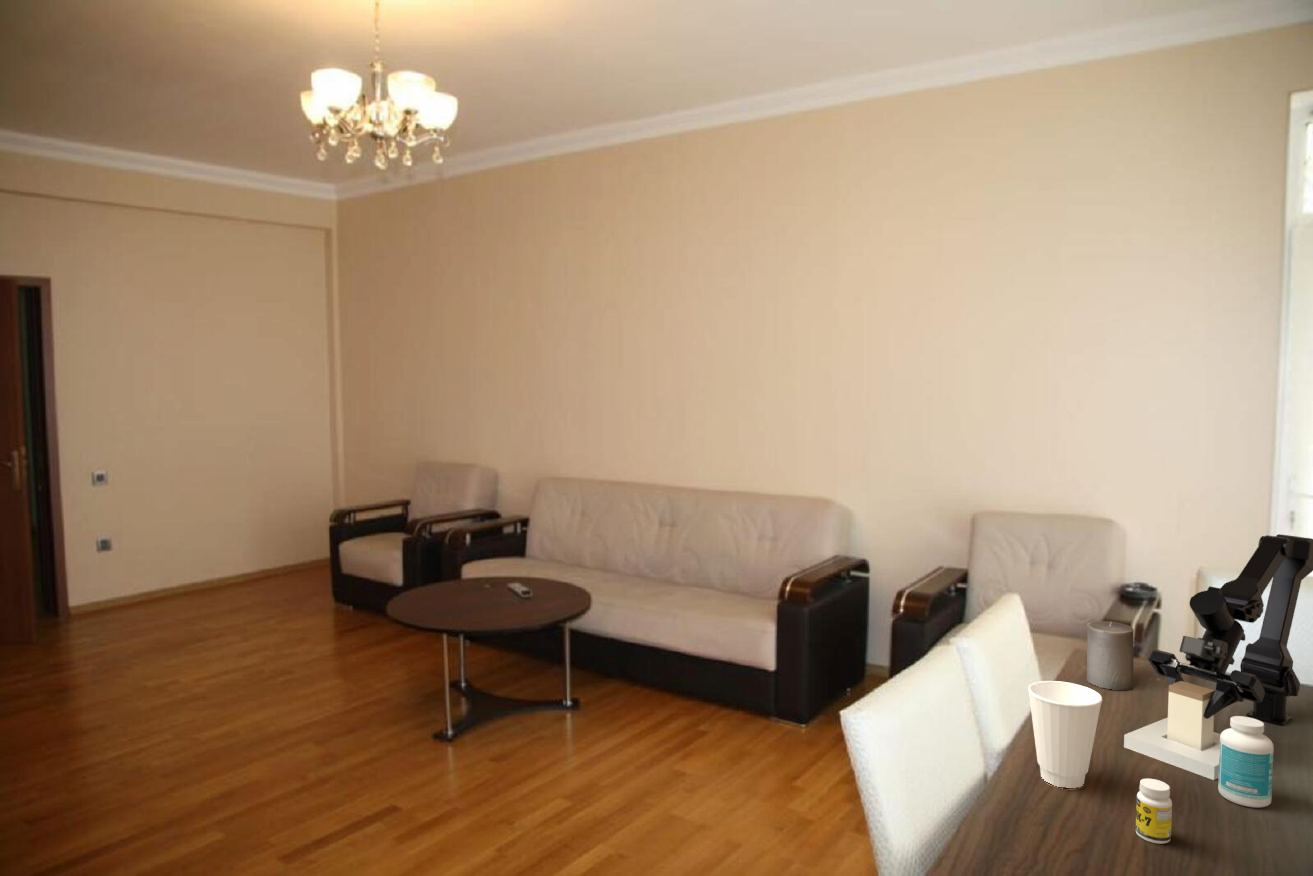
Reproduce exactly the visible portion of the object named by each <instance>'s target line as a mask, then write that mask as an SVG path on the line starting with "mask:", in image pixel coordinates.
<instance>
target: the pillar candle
mask: <svg viewBox="0 0 1313 876" xmlns="http://www.w3.org/2000/svg"><path fill="white" fill-rule="evenodd" d="M1086 626H1087V632H1086V633H1087V636H1086V637H1087V638H1086V639H1087V641H1086V642H1087V643H1086V682H1087V681H1088V682H1089V683H1088V682H1087V683H1088V684H1090V683H1091V684H1090V685H1093V686H1095V685H1096V686H1095V687H1097V686H1098V687H1097V688H1099V687H1104V688H1108V689H1112V690H1111V691H1127V690H1131V689H1133V688H1132V687H1134V684H1133V683H1134V653H1135V652H1134V645H1135V644H1134V641H1135V640H1134V639H1135V637H1134V632H1135V631H1134V630H1135V629H1134V628H1133V627H1132V626H1130V625H1128V624H1125V623H1121V622H1116V621H1109V620H1107V621H1105V620H1097V621H1090V622H1088V623H1086ZM1132 685H1133V686H1132ZM1108 689H1107V690H1108Z"/></svg>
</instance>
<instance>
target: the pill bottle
mask: <svg viewBox="0 0 1313 876" xmlns="http://www.w3.org/2000/svg"><path fill="white" fill-rule="evenodd" d="M1229 722H1230V723H1229V725H1230V727H1229V728H1226V729H1224V730H1223V731H1222V732H1220V734H1221V735H1220V753H1219V778H1218V779H1217V780H1218V781H1217V782H1218V784H1217V785H1218V786H1217V787H1218V788H1217V790H1218V792H1219V794H1220V795H1221V796H1222V797H1223V798H1224V799H1226V800H1227V801H1230V802H1232V803H1234V804H1236V805H1239V806H1245V807H1248V808H1266V807H1268V806H1270V805H1271V803H1272V796H1273V795H1272V794H1273V792H1272V791H1273V773H1274V772H1273V771H1274V770H1273V768H1274V751H1275V749H1274V747H1275V746H1274V743H1273V742H1272V740H1271V739H1270V738H1269V737H1268V736H1266V735H1265V734H1264V732H1265V723H1264V722H1263V721H1262V720H1260V719H1256V718H1253V717H1249V716H1245V715H1244V716H1241V715H1234V716H1231V717H1230V720H1229Z"/></svg>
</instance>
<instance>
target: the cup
mask: <svg viewBox="0 0 1313 876" xmlns="http://www.w3.org/2000/svg"><path fill="white" fill-rule="evenodd" d="M1027 688H1028V689H1027V692H1028V695H1029V703H1030V711H1031V719H1032V720H1031V721H1032V729H1033V735H1034V744H1035V752H1036V753H1035V754H1036V760H1037V761H1036V762H1037V764H1038V766H1039V771H1040V777H1042V778H1041V780H1042V779H1044V781H1046V782H1048V783H1050V784H1052V785H1054V786H1053V787H1055V786H1057V787H1056V788H1058V787H1066V788H1076V787H1081V786H1083V787H1084V785H1085V779H1086V774H1087V773H1088V772H1089V768H1090V762H1091V757H1092V753H1093V747H1094V742H1095V739H1096V733H1097V731H1096V730H1097V726H1098V721H1099V717H1100V710H1101V705H1102V702H1103V697H1102V695H1101V694H1100V693H1099V692H1097V691H1096V690H1094V689H1092V688H1090V687H1087V686H1083V685H1081V684H1076V683H1073V682H1067V681H1058V680H1041V681H1035V682H1033V683H1031V684H1029V686H1028V687H1027ZM1044 781H1043V782H1044ZM1046 782H1045V783H1046ZM1048 783H1047V784H1048ZM1050 784H1049V785H1050ZM1083 784H1084V785H1083ZM1052 785H1051V786H1052ZM1081 788H1082V787H1081Z"/></svg>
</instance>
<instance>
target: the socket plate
mask: <svg viewBox="0 0 1313 876" xmlns="http://www.w3.org/2000/svg"><path fill="white" fill-rule="evenodd" d="M1167 727H1168V716H1167V717H1165V718H1163V719H1160V720H1158V721H1155V722H1153V723H1150V724H1147V725H1145V726H1143V727H1140V728H1137V729H1135V730H1132V731H1129V732H1128V733H1125V734H1124V736H1123V747H1124V748H1125V749H1128V750H1131V751H1133V752H1135V753H1139V754H1141V755H1144V756H1146V757H1150V758H1152V759H1155V760H1158V761H1160V762H1163V763H1166V764H1168V765H1172V766H1174V767H1177V768H1180V769H1182V770H1185V771H1188V772H1191V773H1193V774H1196V775H1198V776H1201V777H1204V778H1207V779H1208V780H1209V779H1210V780H1212V781H1215V780H1218V779H1219V753H1220V735H1221V733H1219V732H1215V731H1213V747H1211V748H1209V749H1207V750H1204V751H1201V750H1198V749H1195V748H1192V747H1189V746H1186V745H1184V744H1181V743H1178V742H1175V741H1172V740H1169V739H1167Z"/></svg>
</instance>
